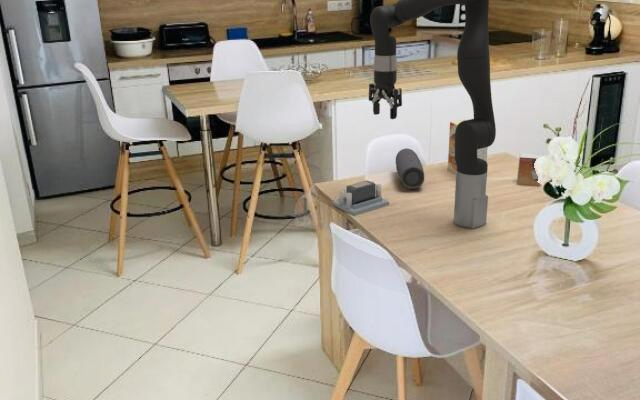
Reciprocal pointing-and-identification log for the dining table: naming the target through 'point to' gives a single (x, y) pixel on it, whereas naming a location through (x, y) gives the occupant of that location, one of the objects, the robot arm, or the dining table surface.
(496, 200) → the dining table surface
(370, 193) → the block
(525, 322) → the dining table surface
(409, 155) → the bluetooth speaker
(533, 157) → the small box
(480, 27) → the robot arm
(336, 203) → the pin tray
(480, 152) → the coffeecake box
